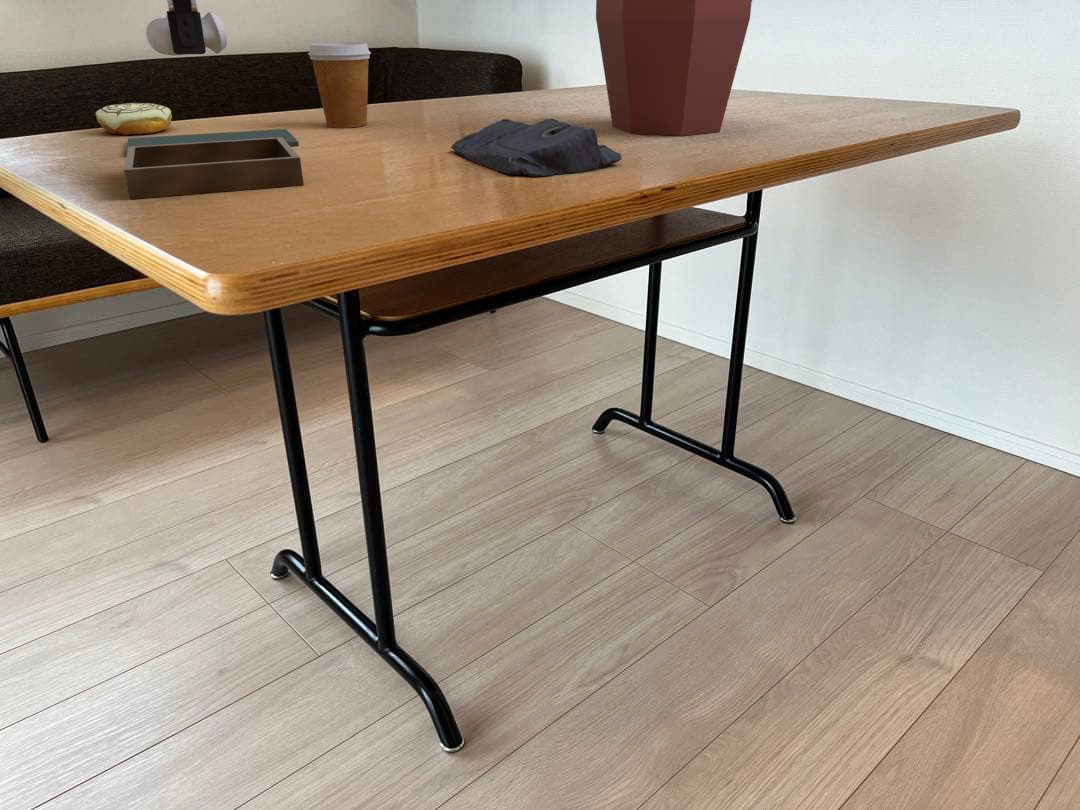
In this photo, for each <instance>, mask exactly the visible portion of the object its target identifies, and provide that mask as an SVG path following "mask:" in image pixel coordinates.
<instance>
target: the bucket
mask: <svg viewBox="0 0 1080 810" xmlns="http://www.w3.org/2000/svg"><path fill="white" fill-rule="evenodd" d="M752 2H753V0H595V22H596V27H597V33H598V40H599V48H600V53H601V60H602V66H603V71H604V72H603V73H604V80H605V86H606V93H607V98H608V105H609V106H608V107H609V113H610V119H611V125H612V128H615V129H618V130H620V131H623V132H625V133H629V134H631V135H632V134H633V135H651V136H669V137H670V136H673V137H685V136H686V137H687V136H695V135H704V134H705V135H706V134H712V133H720V132H721V129H722V125H723V121H724V118H725V115H726V114H725V113H726V110H727V107H728V102H729V99H730V95H731V92H732V88H733V84H734V81H735V77H736V72H737V70H738V69H737V68H738V65H739V62H740V58H741V54H742V51H743V46H744V42H745V39H746V35H747V31H748V27H749V24H750V20H751V13H752V12H751V11H752Z"/></svg>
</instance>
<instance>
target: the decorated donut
mask: <svg viewBox="0 0 1080 810" xmlns="http://www.w3.org/2000/svg"><path fill="white" fill-rule="evenodd" d="M95 116H96V121H97V123H98V124H99V126H101V128H102V129H103V130H104V131H105V132H107V133H109V134H116V135H122V136H129V135H146V134H153V133H154V134H155V133H158V132H162V131H167V130H169V128H170V126H171V124H172V118H173V116H172V110H171V109H170V108H169V107H166V106H165V105H161V104H156V103H146V102H129V103H121V104H110V105H106V106H104V107H102V108H99V109H98V110H97V111H96V112H95Z"/></svg>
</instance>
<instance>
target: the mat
mask: <svg viewBox="0 0 1080 810" xmlns="http://www.w3.org/2000/svg"><path fill="white" fill-rule="evenodd" d="M275 137H283V139H284V140H285V141H286V142H287V143H288V144H289V146H290V147H299V144H300V143H299V141H298V140H297V139H296V138H295V136H293V134H291V132H290V131H289V130H288V129H287V128H277V129H261V130H247V131H245V130H244V131H227V132H211V133H193V134H176V135H159V136H144V137H141V136H140V137H128V138H127V142H126V146H125V152H124V154H125V155H124V156H125V158H126V157H127V152H128V147H131V146H147V145H163V144H179V143H195V142H211V141H227V140H243V139H259V138H275Z"/></svg>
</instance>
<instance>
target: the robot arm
mask: <svg viewBox="0 0 1080 810" xmlns="http://www.w3.org/2000/svg"><path fill="white" fill-rule="evenodd" d="M166 1H167V8H168V10H166V15H167V17H168V23H169V29H170V35H171V41H172V47H173V51H174V53H175V54H184V55H204V54H205V53H206V51H207V49H206V47H205V42H204V36H203V29H202V22H201V18H202V17H201V12H200V11H198V6H197V0H166Z"/></svg>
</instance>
